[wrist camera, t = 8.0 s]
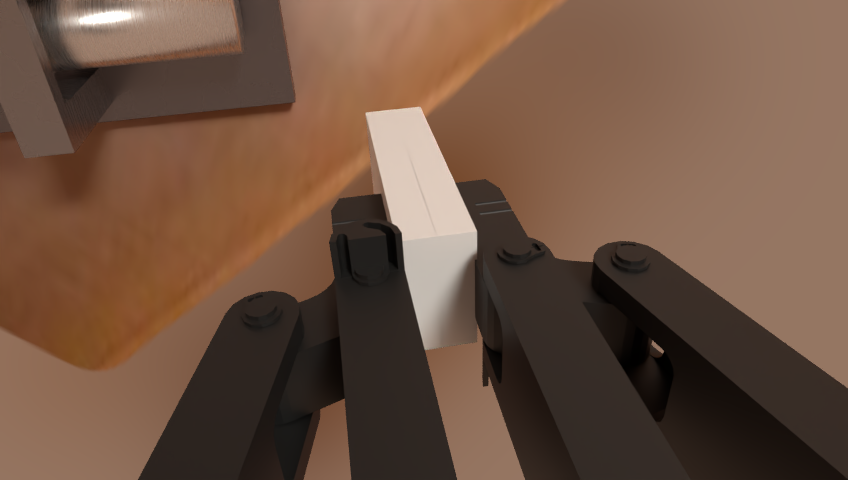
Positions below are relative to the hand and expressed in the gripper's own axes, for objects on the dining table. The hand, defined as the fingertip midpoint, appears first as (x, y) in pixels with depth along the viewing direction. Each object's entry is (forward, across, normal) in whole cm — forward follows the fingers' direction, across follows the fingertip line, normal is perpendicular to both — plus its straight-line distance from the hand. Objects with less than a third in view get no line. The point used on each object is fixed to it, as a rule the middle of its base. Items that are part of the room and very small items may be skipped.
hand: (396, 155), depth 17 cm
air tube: (+23, -16, 0) cm, 28 cm away
